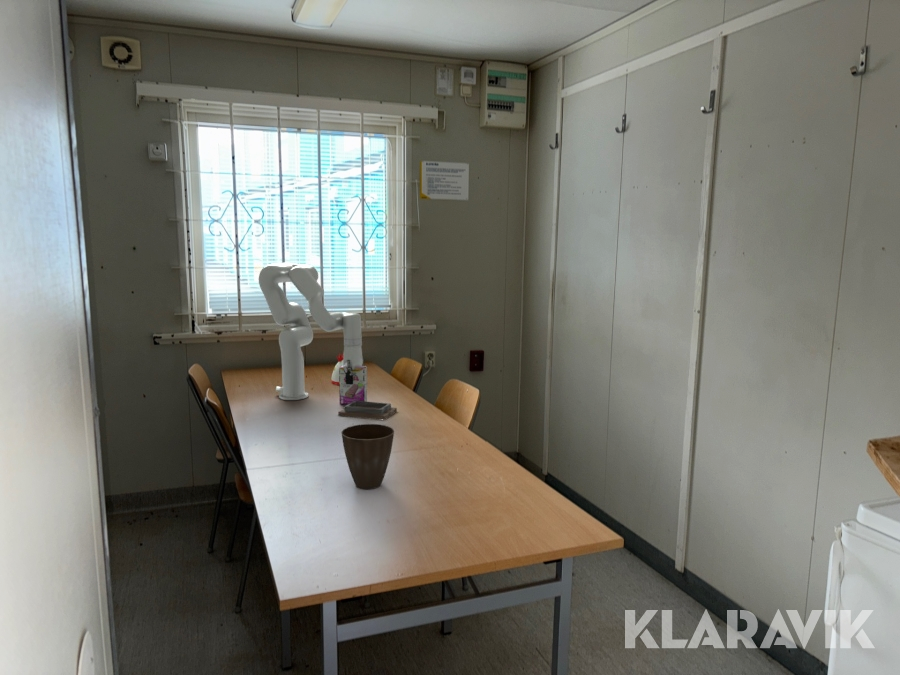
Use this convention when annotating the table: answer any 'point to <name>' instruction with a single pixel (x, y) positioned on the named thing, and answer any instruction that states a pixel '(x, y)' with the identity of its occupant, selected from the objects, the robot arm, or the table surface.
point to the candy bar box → (353, 386)
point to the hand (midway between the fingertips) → (354, 381)
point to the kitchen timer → (337, 371)
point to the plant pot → (367, 453)
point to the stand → (368, 410)
